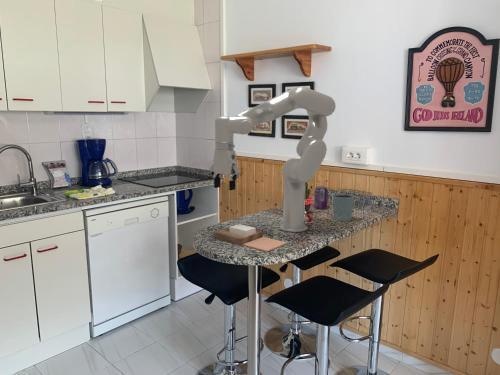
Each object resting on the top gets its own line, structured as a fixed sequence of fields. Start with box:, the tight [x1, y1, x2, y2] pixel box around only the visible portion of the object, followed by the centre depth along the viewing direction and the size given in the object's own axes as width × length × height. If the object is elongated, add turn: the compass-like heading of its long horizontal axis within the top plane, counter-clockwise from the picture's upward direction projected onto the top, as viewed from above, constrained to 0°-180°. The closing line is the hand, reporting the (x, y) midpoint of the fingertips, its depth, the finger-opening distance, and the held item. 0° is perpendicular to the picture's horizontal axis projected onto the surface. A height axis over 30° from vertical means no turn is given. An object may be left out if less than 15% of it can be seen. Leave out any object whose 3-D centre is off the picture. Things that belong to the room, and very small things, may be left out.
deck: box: [212, 226, 264, 246], centre depth 162 cm, size 14×15×2 cm
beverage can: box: [313, 185, 329, 210], centre depth 217 cm, size 7×7×12 cm
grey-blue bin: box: [332, 193, 355, 222], centre depth 193 cm, size 10×10×12 cm
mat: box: [242, 236, 288, 253], centre depth 154 cm, size 13×12×1 cm
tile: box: [229, 223, 257, 237], centre depth 160 cm, size 6×9×2 cm, turn 50°
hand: (224, 188), depth 164 cm, fingers open, 8 cm apart
